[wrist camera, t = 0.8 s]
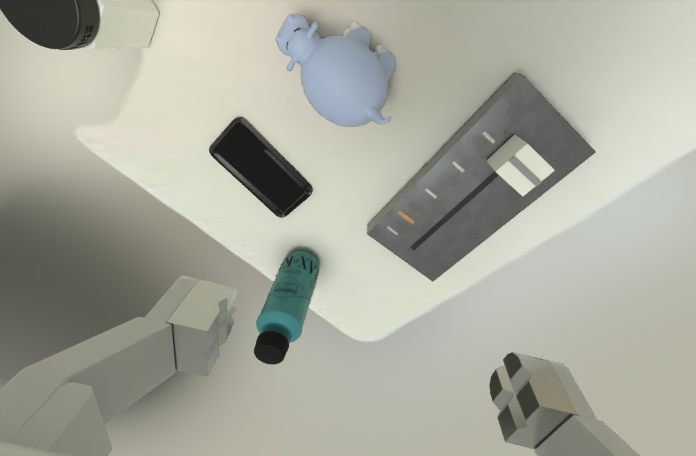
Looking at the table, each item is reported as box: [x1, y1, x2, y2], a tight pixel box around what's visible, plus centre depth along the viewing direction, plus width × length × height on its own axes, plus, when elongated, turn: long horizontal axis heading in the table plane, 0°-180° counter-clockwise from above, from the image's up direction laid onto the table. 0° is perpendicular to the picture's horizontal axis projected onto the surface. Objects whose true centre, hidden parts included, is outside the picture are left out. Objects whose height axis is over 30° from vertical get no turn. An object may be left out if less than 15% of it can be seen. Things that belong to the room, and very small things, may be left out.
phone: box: [209, 117, 312, 218], centre depth 48 cm, size 8×1×15 cm
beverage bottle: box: [254, 251, 320, 364], centre depth 48 cm, size 6×7×20 cm
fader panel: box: [367, 73, 595, 281], centre depth 46 cm, size 28×14×3 cm, turn 142°
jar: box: [0, 0, 159, 50], centre depth 34 cm, size 9×8×12 cm
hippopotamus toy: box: [275, 14, 396, 127], centre depth 37 cm, size 11×15×10 cm
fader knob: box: [487, 134, 555, 196], centre depth 39 cm, size 4×5×4 cm
